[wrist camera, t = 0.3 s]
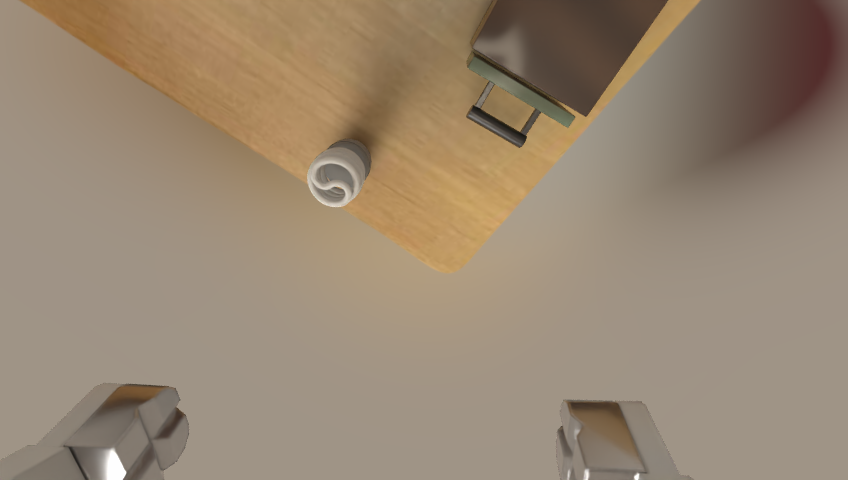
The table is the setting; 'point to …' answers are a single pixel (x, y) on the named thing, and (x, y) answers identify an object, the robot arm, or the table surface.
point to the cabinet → (565, 42)
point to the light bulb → (339, 172)
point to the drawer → (519, 91)
